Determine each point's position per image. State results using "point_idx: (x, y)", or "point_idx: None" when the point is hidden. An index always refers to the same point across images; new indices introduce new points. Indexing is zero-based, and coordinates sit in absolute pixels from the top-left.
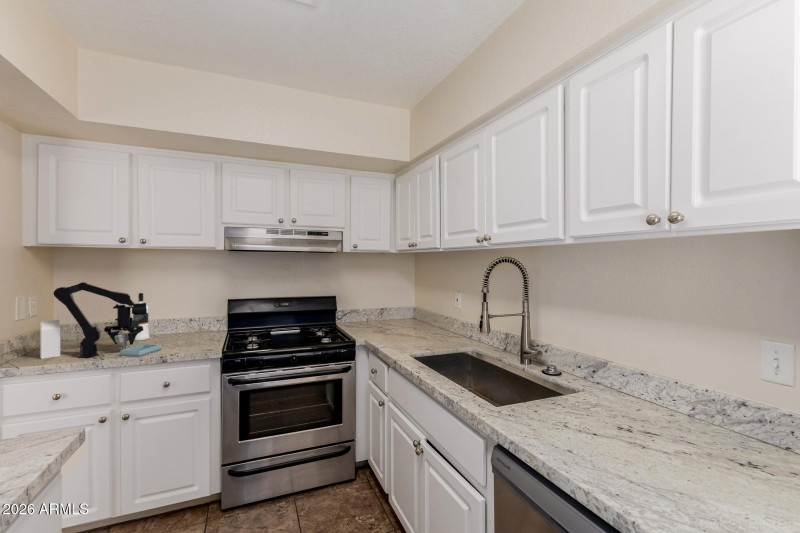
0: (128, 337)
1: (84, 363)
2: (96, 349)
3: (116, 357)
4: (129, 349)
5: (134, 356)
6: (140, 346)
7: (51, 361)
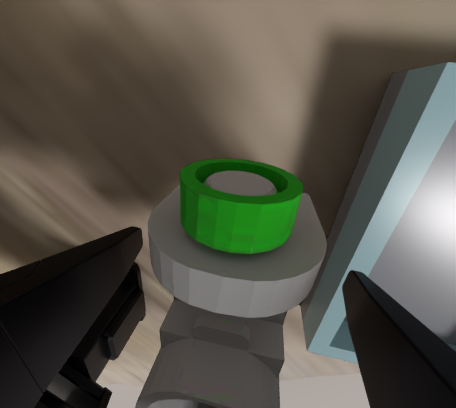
0: (282, 315)
1: None
2: (122, 326)
3: (292, 322)
4: None
5: None
6: (416, 164)
7: None
